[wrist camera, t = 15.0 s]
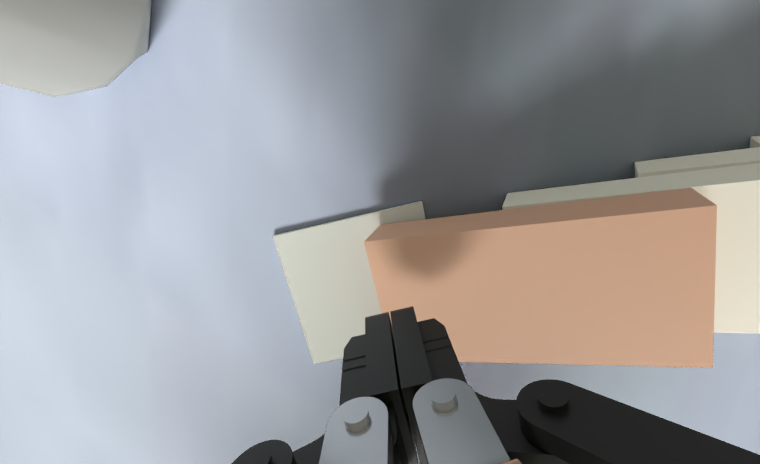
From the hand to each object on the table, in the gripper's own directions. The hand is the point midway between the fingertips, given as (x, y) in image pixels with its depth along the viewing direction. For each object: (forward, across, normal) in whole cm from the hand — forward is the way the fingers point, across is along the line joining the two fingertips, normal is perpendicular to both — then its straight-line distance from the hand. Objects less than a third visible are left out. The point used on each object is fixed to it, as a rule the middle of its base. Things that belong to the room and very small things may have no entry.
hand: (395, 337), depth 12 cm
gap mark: (+4, +1, 0) cm, 5 cm away
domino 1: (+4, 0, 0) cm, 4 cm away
